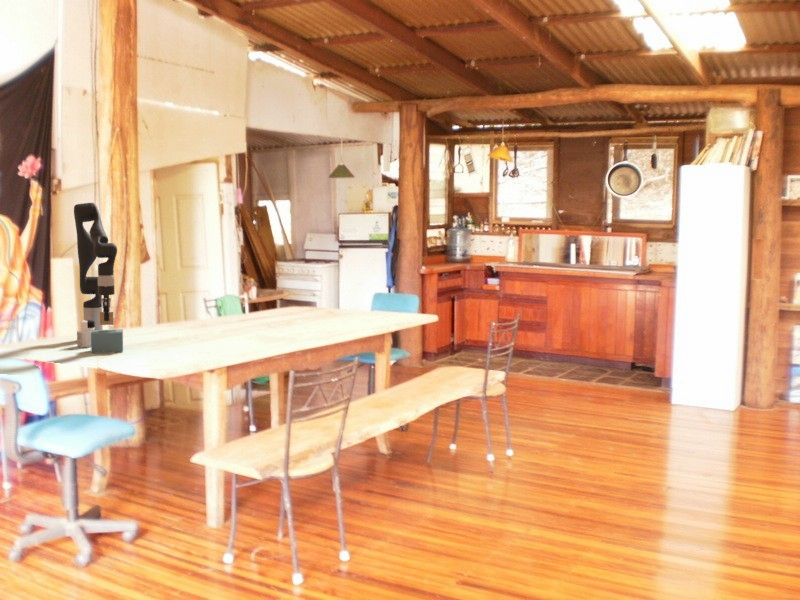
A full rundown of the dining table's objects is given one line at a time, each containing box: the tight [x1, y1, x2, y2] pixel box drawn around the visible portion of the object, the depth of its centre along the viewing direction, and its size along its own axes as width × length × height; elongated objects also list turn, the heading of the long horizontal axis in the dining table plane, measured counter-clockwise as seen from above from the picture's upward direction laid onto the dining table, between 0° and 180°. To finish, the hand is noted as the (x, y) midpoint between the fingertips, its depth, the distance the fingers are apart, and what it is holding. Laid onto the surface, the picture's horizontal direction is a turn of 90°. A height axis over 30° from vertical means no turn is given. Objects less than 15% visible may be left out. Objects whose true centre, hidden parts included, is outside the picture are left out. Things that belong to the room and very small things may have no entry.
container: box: [76, 319, 95, 348], centre depth 411 cm, size 8×8×13 cm
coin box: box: [90, 329, 124, 354], centre depth 396 cm, size 10×14×10 cm
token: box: [100, 311, 114, 326], centre depth 395 cm, size 2×6×6 cm, turn 107°
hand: (106, 320), depth 395 cm, fingers closed on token, 1 cm apart
